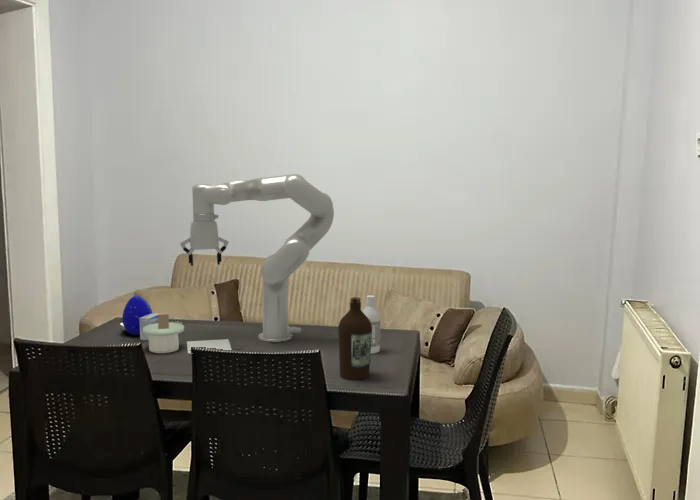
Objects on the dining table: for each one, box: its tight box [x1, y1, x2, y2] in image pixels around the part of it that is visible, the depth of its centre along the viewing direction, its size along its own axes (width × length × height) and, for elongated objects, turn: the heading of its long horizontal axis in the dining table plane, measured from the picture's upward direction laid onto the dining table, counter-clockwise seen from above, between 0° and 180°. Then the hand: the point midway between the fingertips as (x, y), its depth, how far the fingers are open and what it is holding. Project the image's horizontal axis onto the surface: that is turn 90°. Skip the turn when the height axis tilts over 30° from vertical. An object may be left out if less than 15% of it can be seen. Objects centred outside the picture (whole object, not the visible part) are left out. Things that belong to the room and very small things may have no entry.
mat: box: [186, 338, 233, 354], centre depth 251 cm, size 15×15×1 cm
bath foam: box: [362, 294, 381, 355], centre depth 247 cm, size 7×7×20 cm
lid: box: [143, 311, 185, 336], centre depth 245 cm, size 14×14×6 cm
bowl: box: [148, 334, 180, 354], centre depth 246 cm, size 10×10×7 cm
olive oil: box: [337, 296, 372, 381], centre depth 220 cm, size 11×11×25 cm
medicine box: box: [139, 312, 159, 341], centre depth 261 cm, size 8×4×9 cm, turn 162°
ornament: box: [121, 295, 153, 336], centre depth 266 cm, size 11×9×15 cm
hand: (205, 264), depth 258 cm, fingers open, 9 cm apart
